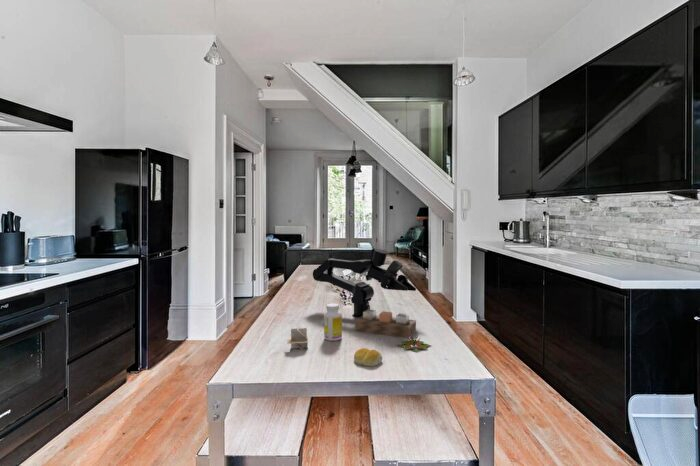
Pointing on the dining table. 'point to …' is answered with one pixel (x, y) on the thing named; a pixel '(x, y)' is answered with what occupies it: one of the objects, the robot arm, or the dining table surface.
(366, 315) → the grey cube
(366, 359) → the bread roll
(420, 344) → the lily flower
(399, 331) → the console
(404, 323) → the grey block
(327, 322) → the supplement bottle
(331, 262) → the robot arm
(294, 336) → the architectural model
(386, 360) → the dining table surface
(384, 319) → the orange cube
